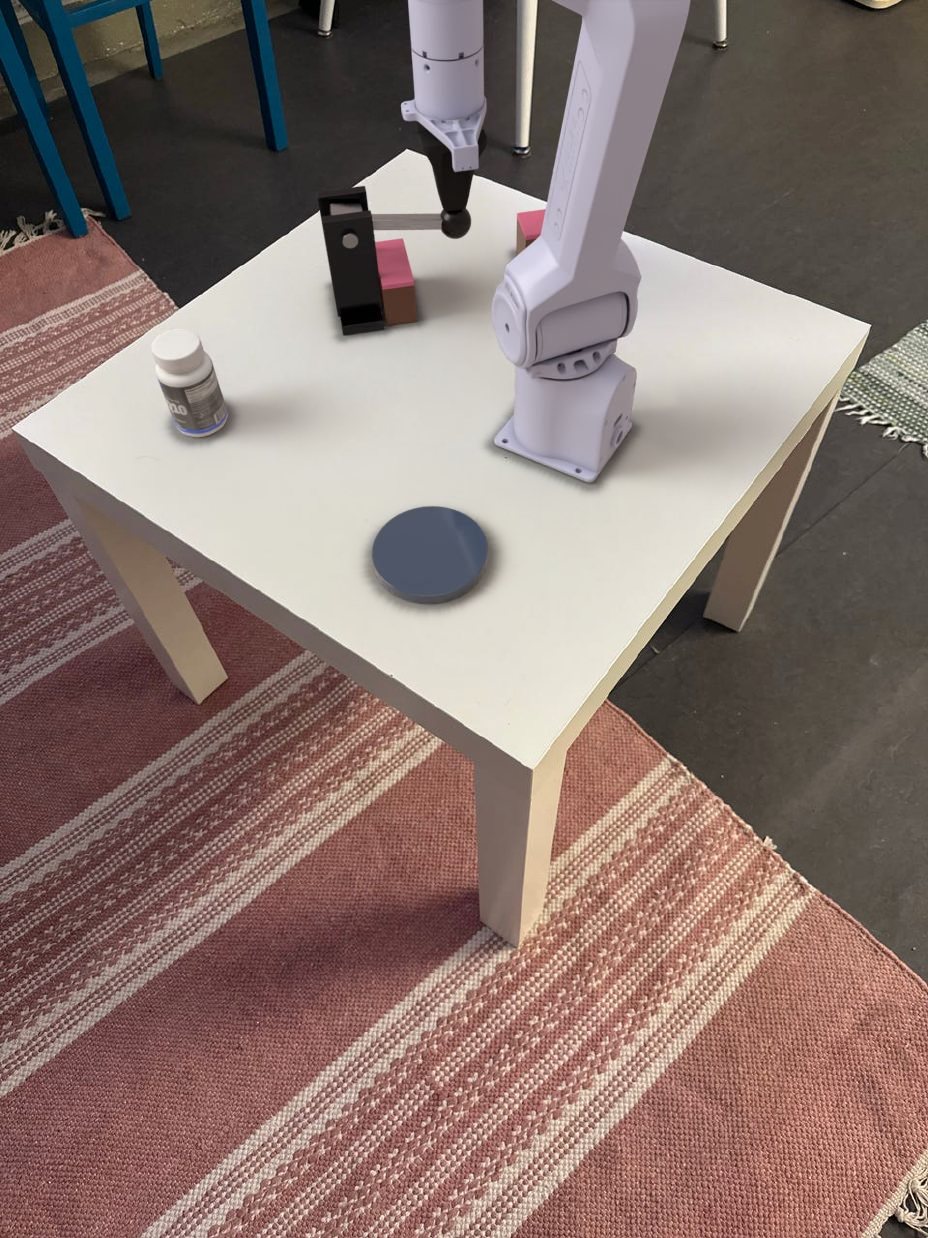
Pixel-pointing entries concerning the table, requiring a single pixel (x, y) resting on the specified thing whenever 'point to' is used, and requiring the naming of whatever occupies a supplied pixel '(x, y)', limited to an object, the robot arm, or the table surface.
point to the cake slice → (528, 228)
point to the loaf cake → (396, 282)
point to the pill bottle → (189, 383)
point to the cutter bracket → (352, 261)
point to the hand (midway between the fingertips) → (453, 206)
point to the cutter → (415, 220)
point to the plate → (430, 554)
